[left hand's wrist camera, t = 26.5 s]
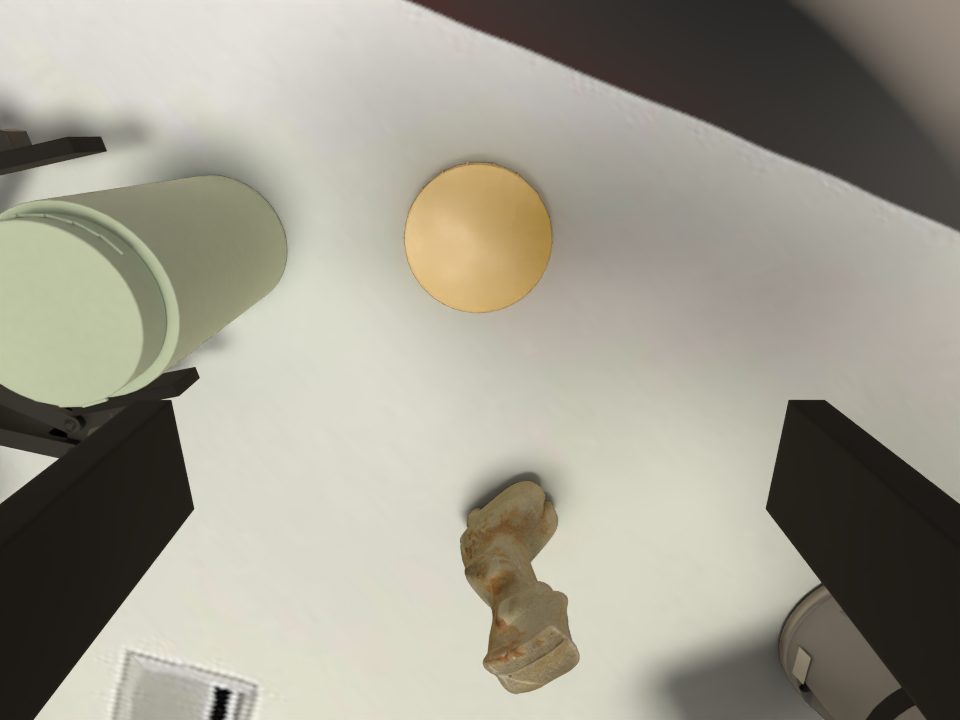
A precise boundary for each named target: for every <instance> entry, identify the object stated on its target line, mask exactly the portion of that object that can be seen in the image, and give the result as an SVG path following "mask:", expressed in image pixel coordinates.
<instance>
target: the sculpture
mask: <svg viewBox="0 0 960 720" xmlns="http://www.w3.org/2000/svg"><path fill="white" fill-rule="evenodd" d="M544 500H545V494H544V492H543V490H542V489H541V487H540V486H538V485H537V484H536V483H534V482H531V481H522V482H518V483H516V484H514V485H512V486H510V487H508V488H507V489H505V490H504V491H503V492H502V493H500V494H499V495H498V496H496V497H495V498H494V499H493V500H492V501H490V502H489V503H488V504H487V505H486V506H485V507H484V508H482V509H480V508H475V509H474V510H473V511H471V513H470V514H469V515H468V518H467V529H466V531H465V532H464V533H463V535H462V536H461V538H460V543H461V546H460V548H461V555H462V560H463V563H464V566H465V575H466V578H467V580H468V582H469V584H470V585H471V587H472V588H473V589H474V590H475V592H476V593H477V594H478V595H479V596H480V597H481V599H482V600H483V601H484V602H485V603H486V604H487V605H488V606H489V607H491V609H492V613H493V620H492V626H491V631H490V635H489V645H488V653H487V655H486V656H485V658H484V660H483V665H484V668H485V669H486V670H488V671H489V672H490V673H492V674H494V675H495V676H496V677H497V678H498V679H499V681H500V683H501V684H502V686H503V687H504V688H505V689H506V690H507V691H509V692H511V693H513V694H519V693H524V692H530V691H533V690H536V689H538V688H541V687H542V686H544V685H546V684H547V683H549V682H551V681H552V680H554V679H556V678H558V677H560V676H561V675H563V674H565V673H567V672H569V671H570V670H572V669H573V668H574V667H575V666H576V665H577V663H578V662H579V652H578V649H577V647H576V645H575V644H574V642H573V641H572V638H571V634H570V630H569V626H568V616H567V605H568V598H567V596H566V595H565V594H564V593H562V592H559V591H553V590H552V588H551V587H550V586H549V585H548V584H546V583H544V582H541V581H537V579H536V576H535V573H534V571H533V568H532V566H531V563H530V562H531V561H532V560H533V559H534V558H535V557H536V556H537V554H538V553H539V552H540V551H541V550H542V549H543V547H544V546H545V545H546V544H547V542H548V541H549V540H550V539H551V537H552V536H553V534H554V533H555V531H556V529H557V526H558V516H557V513H556V511H555V509H554V508H553V506H552V504H551V502H549V501H544Z"/></svg>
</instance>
